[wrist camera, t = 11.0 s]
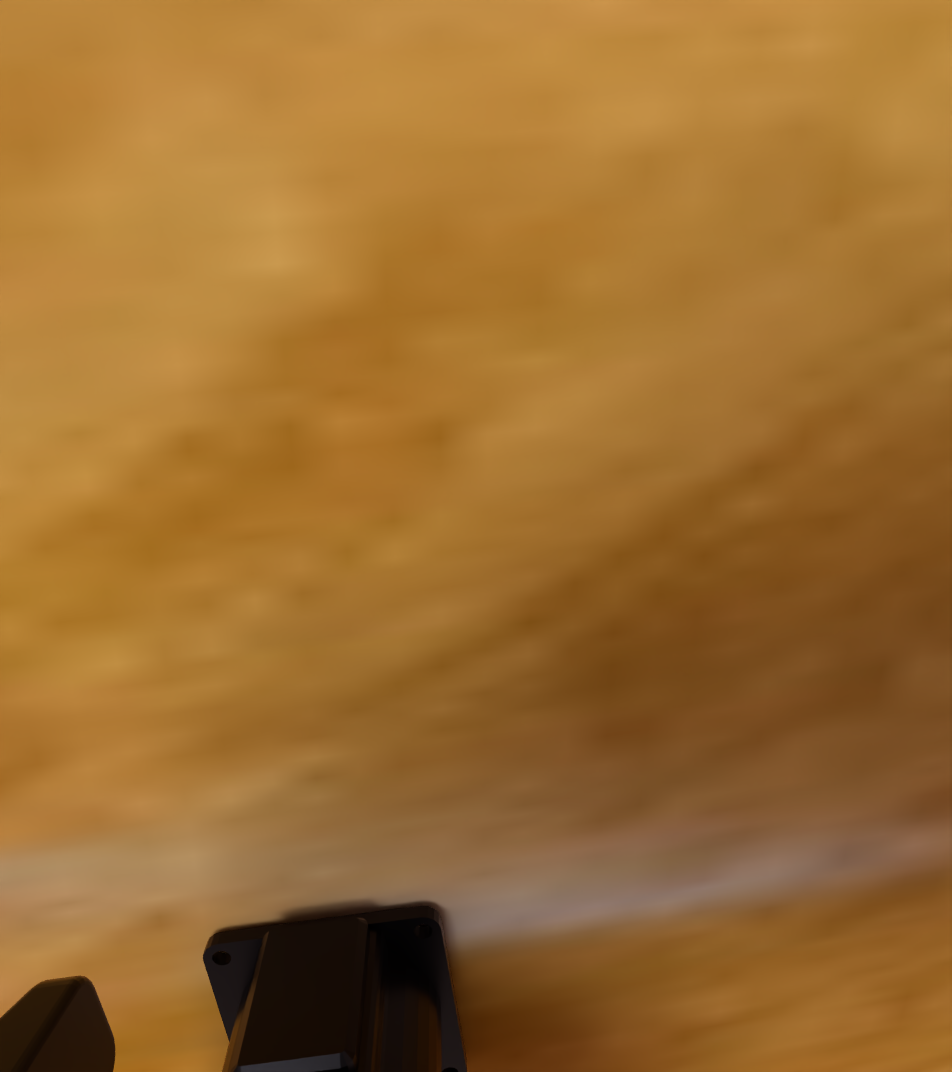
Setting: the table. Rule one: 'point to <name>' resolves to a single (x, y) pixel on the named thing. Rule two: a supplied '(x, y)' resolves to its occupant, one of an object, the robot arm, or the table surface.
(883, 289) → the table surface
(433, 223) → the table surface
